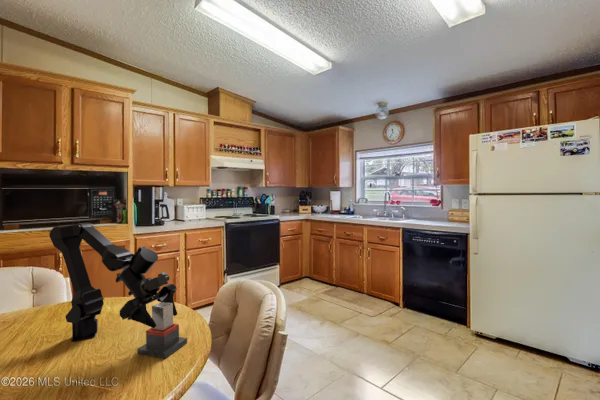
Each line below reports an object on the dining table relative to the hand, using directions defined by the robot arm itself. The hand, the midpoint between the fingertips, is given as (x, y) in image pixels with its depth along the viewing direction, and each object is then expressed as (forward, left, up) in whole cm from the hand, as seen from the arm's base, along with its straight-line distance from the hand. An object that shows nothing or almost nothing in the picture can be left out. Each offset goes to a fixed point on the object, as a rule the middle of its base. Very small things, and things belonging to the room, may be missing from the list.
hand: (166, 320), depth 93 cm
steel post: (-1, +1, -7) cm, 7 cm away
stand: (-1, +1, -9) cm, 9 cm away
